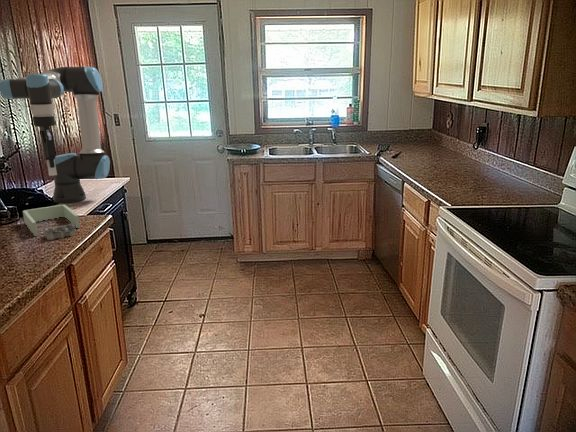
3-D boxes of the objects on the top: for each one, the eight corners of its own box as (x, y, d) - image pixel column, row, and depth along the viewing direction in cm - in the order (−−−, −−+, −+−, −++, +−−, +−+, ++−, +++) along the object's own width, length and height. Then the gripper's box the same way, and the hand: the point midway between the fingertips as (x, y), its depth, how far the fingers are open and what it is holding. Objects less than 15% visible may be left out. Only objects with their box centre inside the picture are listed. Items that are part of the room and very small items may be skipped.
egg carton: (46, 241, 167) (44, 231, 166) (44, 236, 173) (42, 226, 172) (77, 236, 173) (76, 226, 172) (74, 231, 179) (72, 221, 178)
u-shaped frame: (24, 223, 189) (22, 210, 188) (66, 216, 199) (64, 204, 198) (34, 236, 172) (32, 222, 171) (79, 228, 182) (78, 215, 180)
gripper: (29, 115, 176) (39, 173, 184) (35, 117, 167) (46, 179, 174) (50, 113, 181) (59, 171, 188) (57, 116, 171) (67, 176, 178)
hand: (53, 175), depth 181 cm, fingers closed
